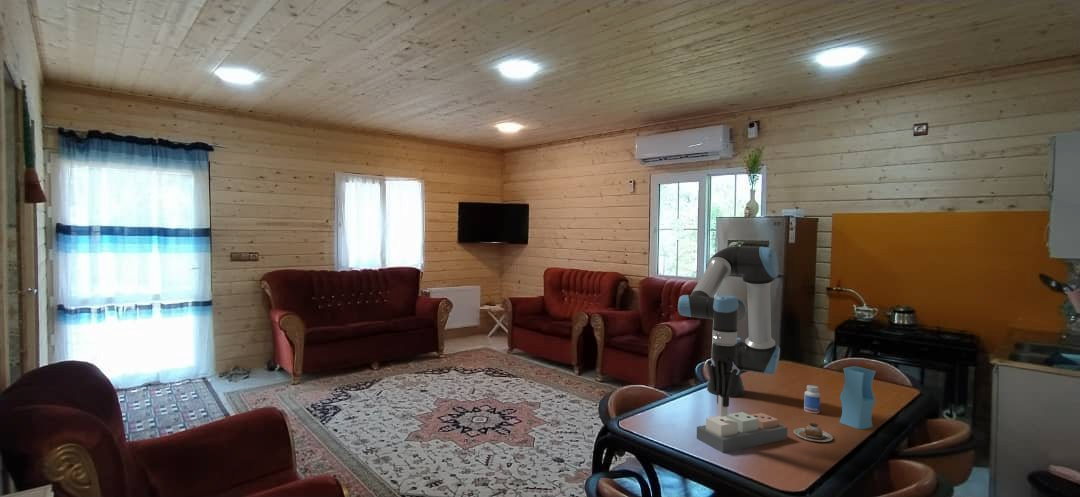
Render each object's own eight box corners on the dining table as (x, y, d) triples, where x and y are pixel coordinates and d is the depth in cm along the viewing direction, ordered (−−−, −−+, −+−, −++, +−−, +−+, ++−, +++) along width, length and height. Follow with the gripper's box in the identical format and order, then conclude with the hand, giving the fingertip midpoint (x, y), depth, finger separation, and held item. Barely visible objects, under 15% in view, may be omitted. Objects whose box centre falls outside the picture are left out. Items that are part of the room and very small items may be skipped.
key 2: (726, 426, 178) (726, 414, 177) (742, 423, 180) (742, 411, 180) (742, 433, 171) (742, 421, 171) (758, 430, 174) (758, 418, 174)
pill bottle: (821, 414, 201) (822, 389, 200) (806, 413, 202) (807, 387, 201) (817, 409, 206) (818, 384, 206) (802, 408, 207) (803, 383, 207)
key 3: (746, 426, 181) (746, 414, 181) (761, 424, 184) (761, 412, 184) (762, 434, 175) (763, 421, 175) (777, 431, 178) (778, 418, 178)
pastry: (831, 447, 171) (832, 433, 171) (791, 439, 177) (791, 425, 177) (833, 435, 181) (834, 422, 181) (795, 428, 187) (795, 415, 187)
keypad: (696, 438, 176) (696, 426, 175) (758, 426, 187) (759, 415, 187) (722, 452, 165) (723, 440, 165) (787, 439, 176) (787, 427, 176)
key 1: (705, 430, 174) (705, 417, 174) (721, 427, 177) (722, 414, 177) (721, 437, 167) (721, 424, 167) (737, 434, 170) (738, 421, 170)
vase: (860, 430, 185) (862, 373, 185) (839, 422, 192) (841, 368, 192) (874, 426, 189) (876, 371, 188) (852, 419, 196) (854, 365, 195)
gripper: (701, 340, 175) (699, 410, 176) (730, 348, 164) (728, 423, 164) (719, 338, 179) (717, 407, 179) (748, 346, 167) (746, 420, 167)
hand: (722, 415), depth 172 cm, fingers closed
